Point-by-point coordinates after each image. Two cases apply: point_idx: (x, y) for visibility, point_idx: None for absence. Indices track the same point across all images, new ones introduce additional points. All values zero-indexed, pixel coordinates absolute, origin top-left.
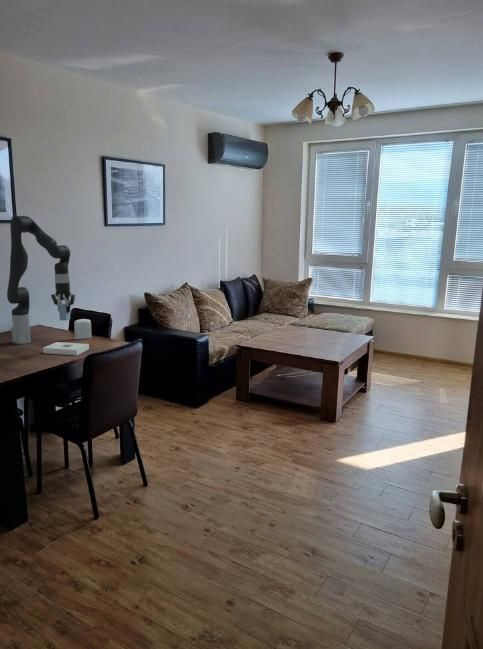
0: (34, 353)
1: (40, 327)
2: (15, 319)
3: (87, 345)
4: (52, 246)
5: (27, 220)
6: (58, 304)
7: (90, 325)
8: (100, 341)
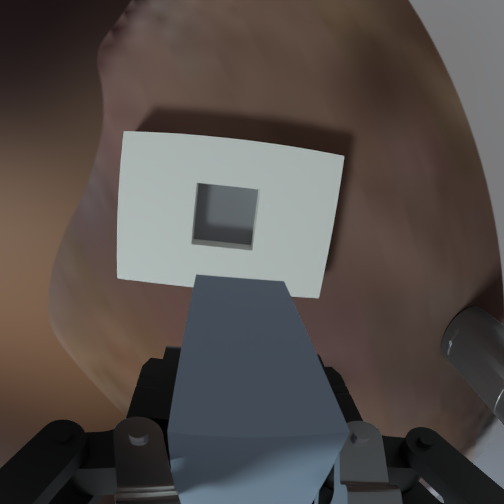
0: (374, 148)
1: (423, 479)
2: None
3: (118, 261)
4: None
5: None
6: (359, 443)
7: None
8: None
